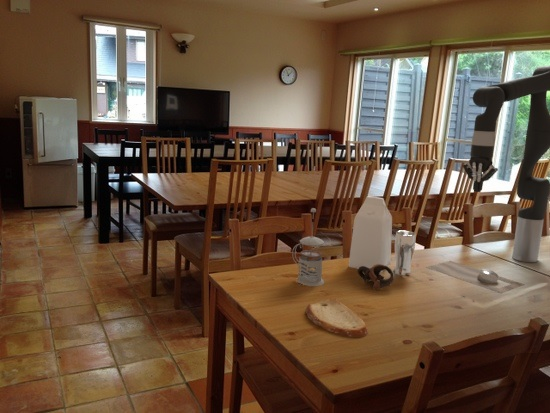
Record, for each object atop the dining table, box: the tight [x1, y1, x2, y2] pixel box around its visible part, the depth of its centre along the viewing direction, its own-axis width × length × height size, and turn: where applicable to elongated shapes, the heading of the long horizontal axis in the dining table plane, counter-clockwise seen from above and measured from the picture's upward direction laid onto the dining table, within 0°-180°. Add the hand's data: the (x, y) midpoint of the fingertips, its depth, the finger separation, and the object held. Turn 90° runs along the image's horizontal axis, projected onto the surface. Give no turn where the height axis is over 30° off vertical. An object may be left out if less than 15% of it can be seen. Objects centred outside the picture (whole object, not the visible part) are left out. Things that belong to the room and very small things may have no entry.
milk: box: [348, 195, 393, 275], centre depth 180 cm, size 12×12×26 cm
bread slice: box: [305, 298, 369, 338], centre depth 136 cm, size 18×18×4 cm
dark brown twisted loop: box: [357, 264, 395, 291], centre depth 162 cm, size 12×10×8 cm
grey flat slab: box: [425, 260, 525, 294], centre depth 173 cm, size 15×29×1 cm, turn 36°
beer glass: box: [393, 230, 417, 277], centre depth 174 cm, size 7×7×15 cm
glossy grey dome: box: [477, 268, 499, 284], centre depth 168 cm, size 6×6×3 cm
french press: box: [291, 207, 325, 287], centre depth 163 cm, size 10×12×25 cm
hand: (477, 191), depth 179 cm, fingers closed
